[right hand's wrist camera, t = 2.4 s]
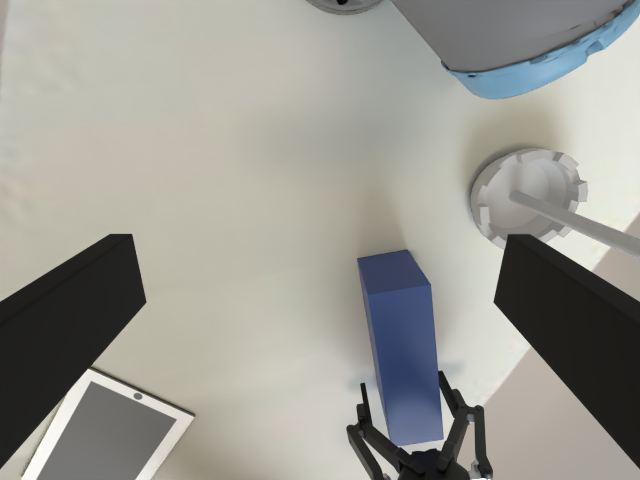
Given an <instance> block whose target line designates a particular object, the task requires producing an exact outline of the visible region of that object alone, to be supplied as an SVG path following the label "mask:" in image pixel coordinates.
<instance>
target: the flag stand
mask: <svg viewBox="0 0 640 480" xmlns="http://www.w3.org/2000/svg"><path fill="white" fill-rule="evenodd" d="M578 165H579V164H578V163H577V162H576V161H575V160H574V159H573V158H571V157H569V156H568V155H566V154H564V153H559V152H555V151H551V150H548V149H542V148H527V149H521V150H518V151H515V152H512V153H510V154H508V155H506V156H504V157H501V158H499V159H497V160H495V161H493V162H492V163H491V164H489V165H488V166H487V167H486V168H485V169H484V170H483V171H482V172H481V173H480V174H479V176H478V178H477V179H476V181H475V183H474V185H473V188H472V192H471V200H470V204H471V209H472V213H473V217H474V221H475V224H476V226H477V228H478V229H479V231H480V232H481V233H482V235H483V236H485V237H486V238H487V239H488V240H490V241H491V242H492V243H494V244H495V245H496V246H498V247H500V248H502V249H504V250H505V246H506V241H507V236H508V234H531V235H532V236H534V237H536V238H537V239H539V240H540V241H542V242H544V243H546V242H548V241H549V240H551V239H552V238H554V237H555V236H556V235H559V236H561V237H563V238H564V237H565V236H566V235H567V234H568V233H569V232H570V231H571V230H572V229H573V230H575V231H578V232H580V233H582V234H584V235H586V236H589V237H591V238H593V239H595V240H597V241H599V242H602V243H604V244H606V245H608V246H610V247H613V248H615V249H617V250H619V251H621V252H623V253H626V254H628V255H630V256H632V257H635V258H636V259H639V260H640V239H638V238H636V237H633V236H631V235H628V234H625V233H623V232H621V231H618V230H615V229H613V228H610V227H608V226H605V225H603V224H600V223H598V222H595V221H593V220H590V219H588V218H585V217H583V216H580V215H577V214H575V212H576V210H577V207H578V204H579V202H587V194H588V188H587V182H586V181H582V180H580V178H579V175H578V172H577V170H576V167H577V166H578Z"/></svg>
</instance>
